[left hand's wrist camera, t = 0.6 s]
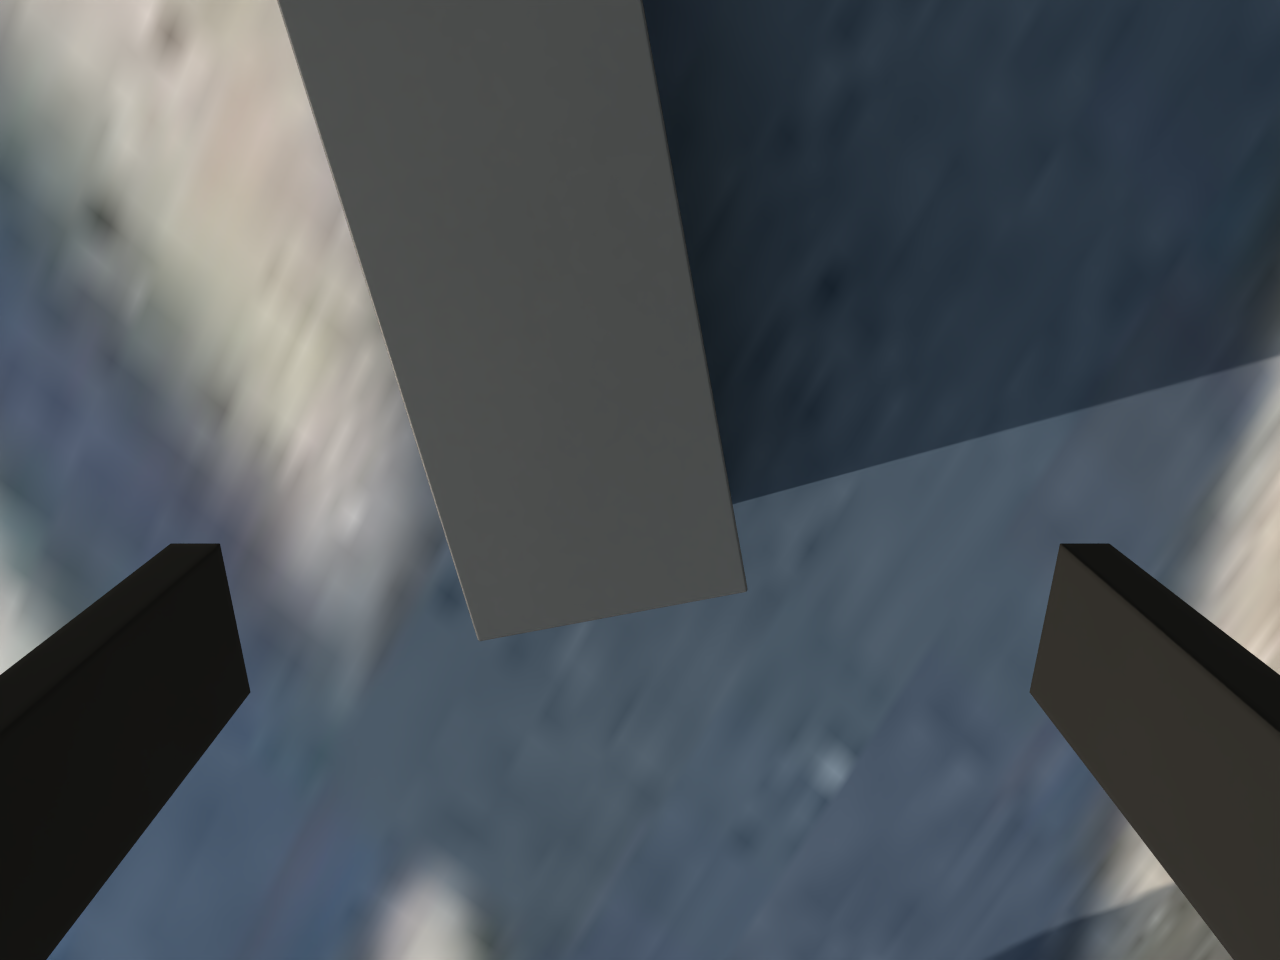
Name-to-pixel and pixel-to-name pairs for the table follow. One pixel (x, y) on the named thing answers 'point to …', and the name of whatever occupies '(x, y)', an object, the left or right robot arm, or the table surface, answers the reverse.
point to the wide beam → (530, 295)
